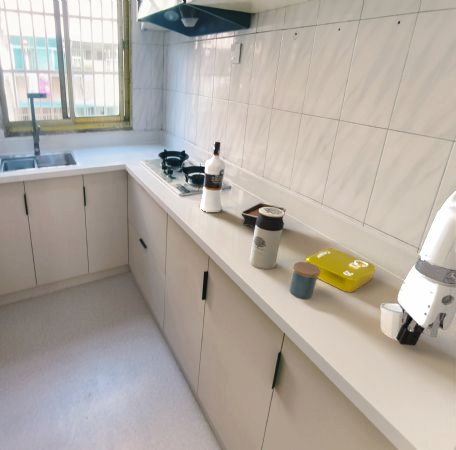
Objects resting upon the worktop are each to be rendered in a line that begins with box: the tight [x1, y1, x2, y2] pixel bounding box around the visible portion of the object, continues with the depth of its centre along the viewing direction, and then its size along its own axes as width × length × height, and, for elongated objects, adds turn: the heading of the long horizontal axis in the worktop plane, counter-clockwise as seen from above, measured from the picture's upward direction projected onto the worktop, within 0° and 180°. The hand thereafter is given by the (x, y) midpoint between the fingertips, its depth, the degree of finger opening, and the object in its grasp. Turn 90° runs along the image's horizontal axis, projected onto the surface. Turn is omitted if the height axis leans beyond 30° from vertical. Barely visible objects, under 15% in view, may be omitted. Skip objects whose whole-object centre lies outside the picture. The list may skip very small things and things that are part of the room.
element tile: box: [305, 247, 376, 293], centre depth 103 cm, size 15×15×5 cm
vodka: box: [199, 141, 226, 213], centre depth 145 cm, size 9×9×30 cm
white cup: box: [379, 302, 403, 342], centre depth 77 cm, size 7×7×7 cm
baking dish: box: [240, 202, 287, 229], centre depth 134 cm, size 14×18×10 cm
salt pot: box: [289, 261, 320, 300], centre depth 92 cm, size 7×7×8 cm
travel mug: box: [249, 207, 286, 270], centre depth 105 cm, size 8×8×18 cm
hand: (405, 342), depth 73 cm, fingers closed
